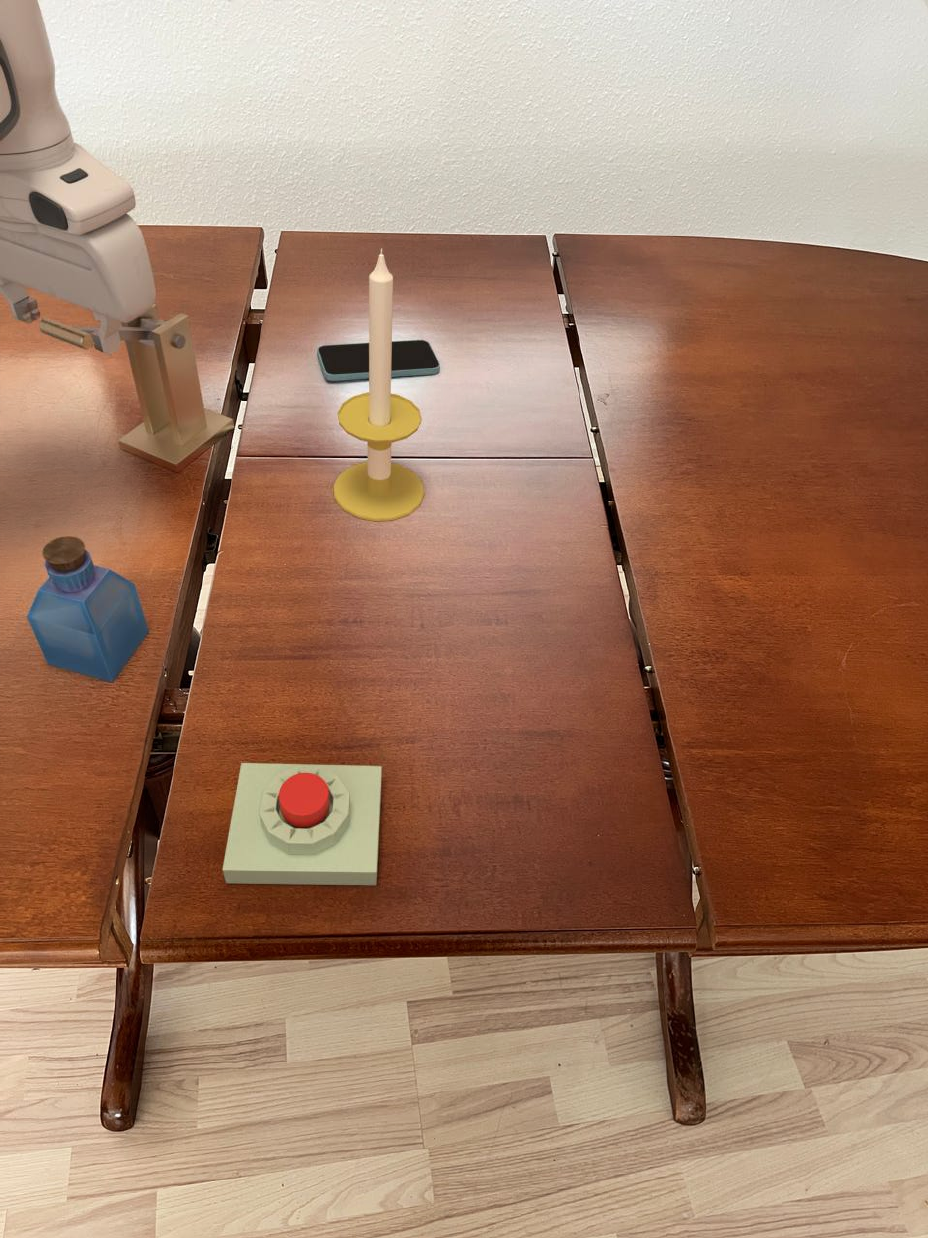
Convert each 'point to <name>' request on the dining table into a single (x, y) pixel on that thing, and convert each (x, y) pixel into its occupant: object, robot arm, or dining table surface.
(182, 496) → the dining table surface
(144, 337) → the lever
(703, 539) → the dining table surface
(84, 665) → the perfume bottle
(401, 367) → the smartphone
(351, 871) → the control box
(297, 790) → the button
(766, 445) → the dining table surface
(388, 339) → the candle
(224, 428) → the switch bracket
